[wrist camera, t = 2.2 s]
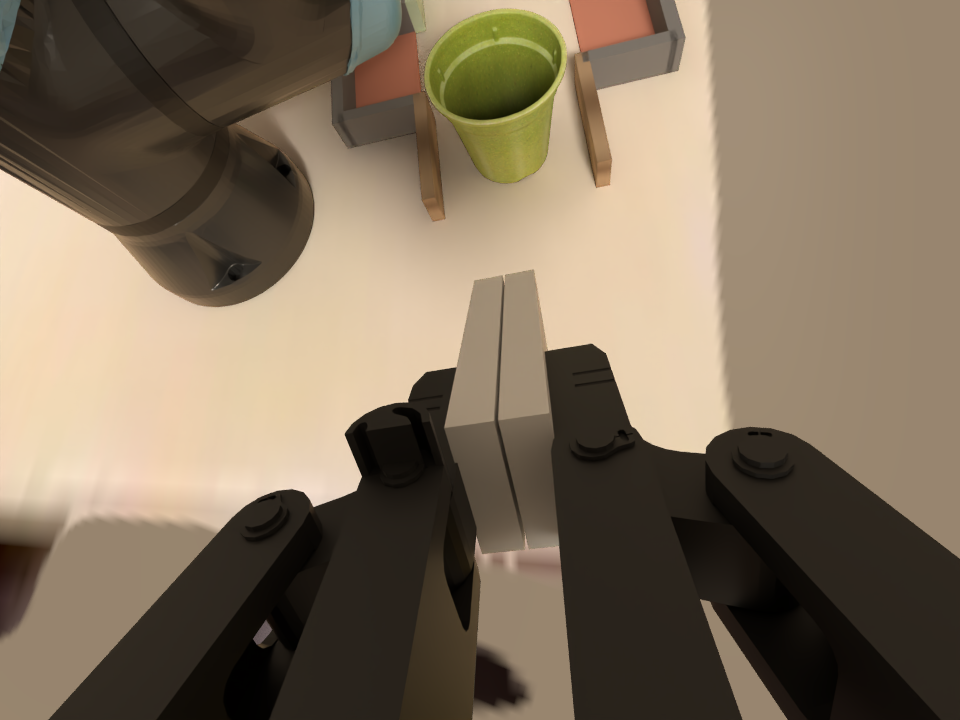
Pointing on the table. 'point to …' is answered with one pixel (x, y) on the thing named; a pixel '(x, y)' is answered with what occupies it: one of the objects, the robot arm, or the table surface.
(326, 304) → the table surface
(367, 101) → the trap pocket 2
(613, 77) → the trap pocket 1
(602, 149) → the chute
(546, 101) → the plant pot
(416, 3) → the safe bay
